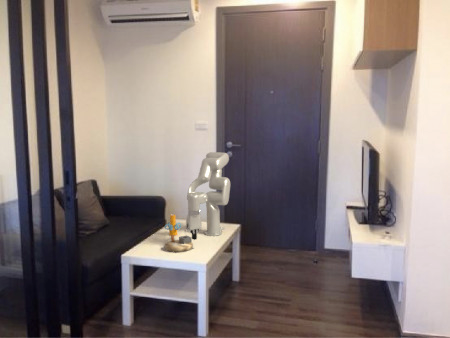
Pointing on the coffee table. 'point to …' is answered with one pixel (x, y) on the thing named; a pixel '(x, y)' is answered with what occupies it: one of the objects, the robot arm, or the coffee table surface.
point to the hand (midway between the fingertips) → (194, 239)
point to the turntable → (177, 245)
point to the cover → (185, 239)
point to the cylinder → (173, 225)
